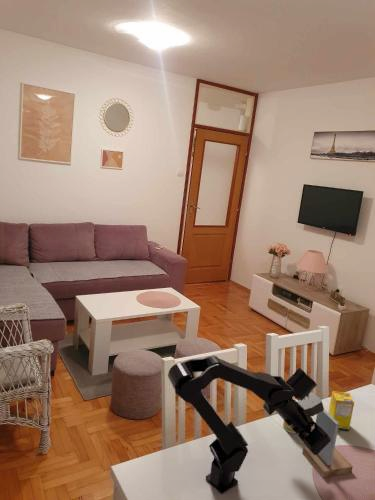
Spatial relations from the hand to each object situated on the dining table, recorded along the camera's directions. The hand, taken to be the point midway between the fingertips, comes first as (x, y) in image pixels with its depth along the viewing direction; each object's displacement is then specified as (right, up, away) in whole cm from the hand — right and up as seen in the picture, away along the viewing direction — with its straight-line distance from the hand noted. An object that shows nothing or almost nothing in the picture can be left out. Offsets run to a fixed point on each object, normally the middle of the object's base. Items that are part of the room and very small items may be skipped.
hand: (315, 438), depth 114 cm
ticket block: (+4, -9, +3) cm, 10 cm away
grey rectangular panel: (+3, -7, +2) cm, 8 cm away
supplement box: (+15, -6, +22) cm, 28 cm away
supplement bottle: (-2, -5, +18) cm, 19 cm away
